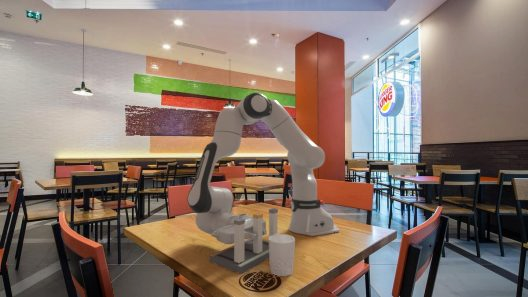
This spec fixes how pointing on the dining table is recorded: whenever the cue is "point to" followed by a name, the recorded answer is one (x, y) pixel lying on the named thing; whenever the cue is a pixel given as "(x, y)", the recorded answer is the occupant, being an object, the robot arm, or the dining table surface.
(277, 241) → the white cup
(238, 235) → the peg rod stand
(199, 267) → the dining table surface
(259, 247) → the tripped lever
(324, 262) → the dining table surface
